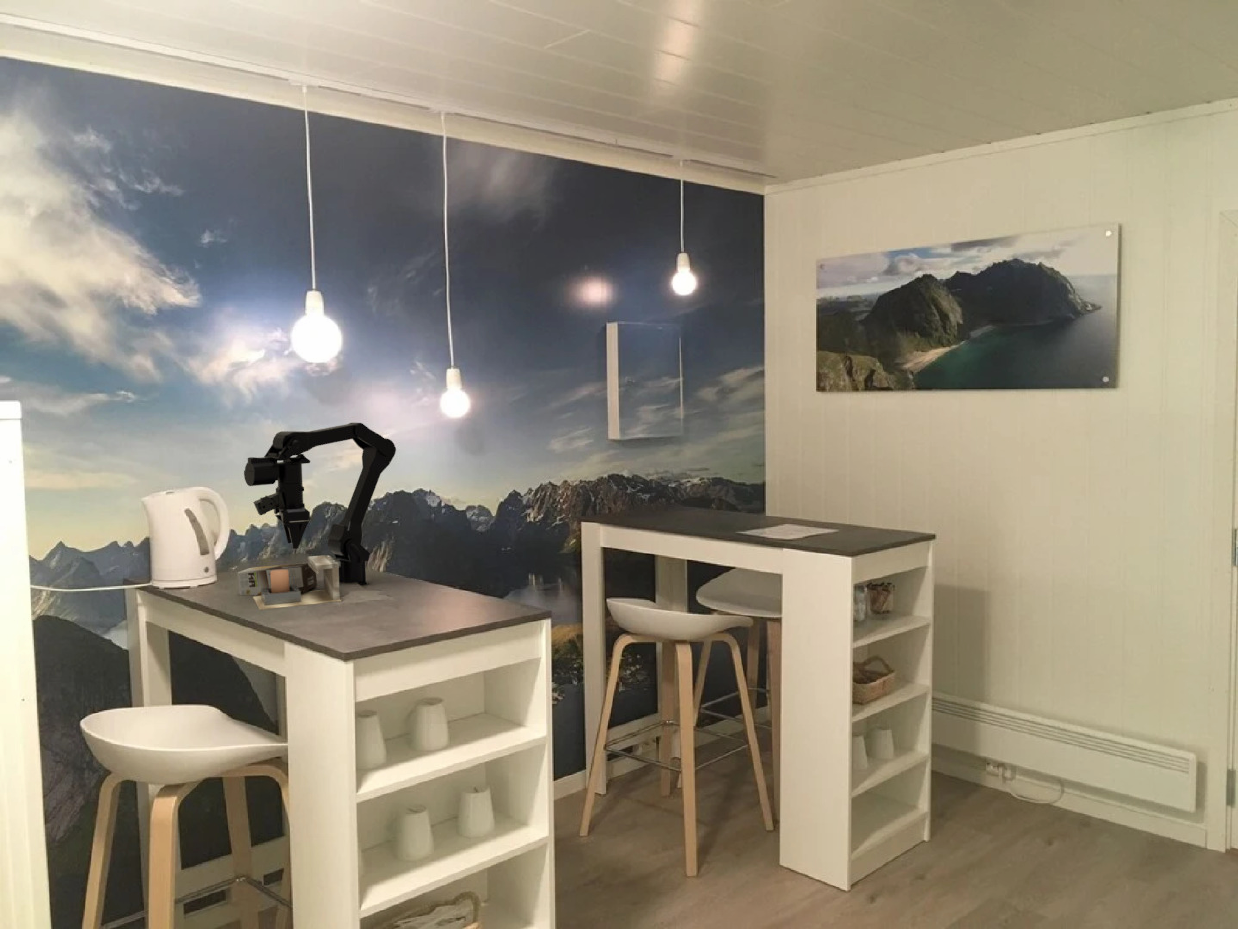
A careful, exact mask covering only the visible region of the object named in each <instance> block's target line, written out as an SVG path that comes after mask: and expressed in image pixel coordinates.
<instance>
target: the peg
mask: <svg viewBox="0 0 1238 929" xmlns="http://www.w3.org/2000/svg"><path fill="white" fill-rule="evenodd" d="M270 575H271V592H272V593H278V592H288V591H289V573H288V570H287V569H278V570H273V571H270Z"/></svg>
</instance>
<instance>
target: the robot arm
mask: <svg viewBox="0 0 1238 929" xmlns="http://www.w3.org/2000/svg"><path fill="white" fill-rule="evenodd" d="M348 440H352V441H353V442H354V443H355V444H356V445H357V446H358V447H359V448H360V449H361V450H362V453H361V461H362V462H361V463H362V464H361V465H362V469H361V472H360V475H359V476H358V480H357V482H356V485H355V488H354V490H353V493H352V495H351V499H350V501H349V504H348V506H347V509H346V511H345V514H344V516H343V518H342V520H341V521H340V522H339V523H332V525H331V528H330V532H329V534H328V535H327V536H326V539H328V540H327V547H328V550H329V551H330V552H331V553H333V556H334V560H336V561H337V560H338V561H337V563H338V567H339V584H340V583H341V584H343V583H344V584H345V583H349V584H350V583H353V584H354V583H357V584H358V585H359V586H363V585H364V586H365V585H368V581H367V580H366V579H367V576H366V575H367V574H366V573H367V572H366V570H367V569H366V562H368V561H369V559H370V555H371V553H370V551H368V550H367V549H366V548H365V547H364V545H363V546H362V541H363V528H362V527H363V526H362V525H363V522H364V519H365V516H366V514H367V512H368V510H369V509H368V508H369V506H370V503H371V501H372V498H373V497H374V496H373V495H374V493H375V490H376V487H377V484H378V482H379V480H380V476H381V474H382V473H383V472H384V471H385V470H386V469H387V467H388V466H390V464H391V462H392V461H393V459H394V457H395V455H396V453H397V448H396V445H395V443H394V442H393V441H392V440H391V439H390V438H385V437H383V436H382V435H381V434H378V433H377V432H375V431H373V430H372V429H371V428H369V427H368V426H367V425H365V424H364V423H363V422H349V423H347V424H341V425H336V426H331V427H325V428H320V429H316V430H315V429H313V430H309V431H303V430H302V431H298V430H297V431H295V430H294V431H293V430H291V431H288V430H287V431H285V430H284V431H279V432H277V433H276V434H274V437H273V440H272V444H271V446H270V447H269V448H268V450H267V452H266V454H264V456H263V457H256V456H255V457H253V456H252V457H248V458H247V463H246V464H245V466H244V471H243V476H244V481H245V483H246V484H247V486H248V487H254V486H255V487H256V486H268V485H274V484H276V482H277V486H276V488H275V493H273V494H270V495H265V496H264V497H260V498H259V499H258V500H255V501H253V504H254V507H255V509H256V511H257V514H258V515H259V516H263V515H266V514H267V513H268V512H270V511H273V514H275V515H274V516H275V517H276V518H277V519H278V520H279V521H281V523H282V526H283V530H284V533H285V538H286V542H287V543H288V544H291V545H292V549H293V550H296V549H299V546H300V544H301V541H302V538H303V536H304V534H305V531H306V529H307V526H308V524H309V523H310V520H311V511H309V510H308V509H306V508H305V507H306V505H305V502H304V493H303V492H304V491H305V487H304V486H303V465H304V464H310V463H311V460H310V459H308V458H307V457H306V456H305V454H303V453H306V452H308V451H310V450H311V449H314V448H315V447H320V446H324V445H330V444H333V443H334V444H335V443H339V442H344V441H348Z"/></svg>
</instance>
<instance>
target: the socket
mask: <svg viewBox="0 0 1238 929" xmlns="http://www.w3.org/2000/svg"><path fill="white" fill-rule="evenodd" d="M260 596H261V599H262V601H263V602H264V604H265V606H266V605H275V604H285V603H294V602H301V591H300V590H299V589H298V587H297V586H296V585H291V586H289V591H288V592H278V593H272V592H271V588H261V595H260Z"/></svg>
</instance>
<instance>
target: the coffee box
mask: <svg viewBox="0 0 1238 929" xmlns="http://www.w3.org/2000/svg"><path fill="white" fill-rule="evenodd" d="M278 569H287V570H288V573H289V586H291V585H296V586H297V587H298V589H299V590H300V591H301V592H305V591H310V590H311V589H314V588H316V587H317V586H318V579H317V574H316V573H315V572H314V571H313V569H312V568H311V567H310V566H309V565H308V562H301V563H300V562H299V563H298V562H297V563H288V564H287V563H286V564H277V565H266V566H253V567H249V568H246V569H244V570H243V569H242V570H240V571H238V572H237V574H236V575H237V581H238V584H237V585H238V591H239V596H261V588H271V575H270V571H273V570H278Z"/></svg>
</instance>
